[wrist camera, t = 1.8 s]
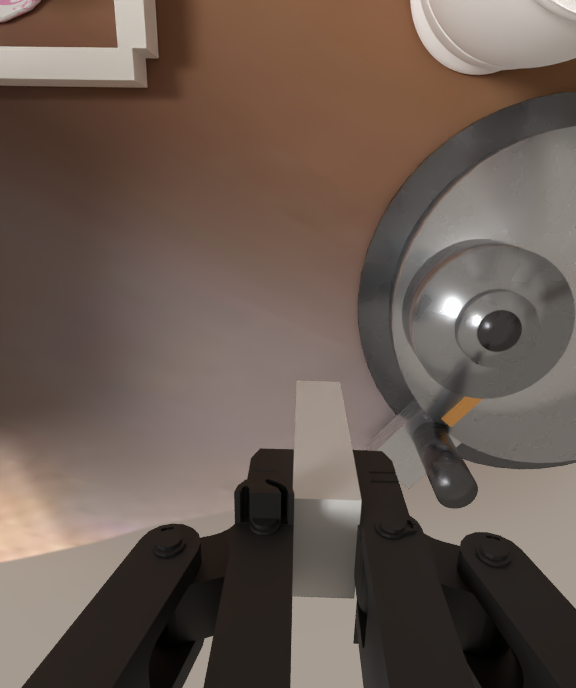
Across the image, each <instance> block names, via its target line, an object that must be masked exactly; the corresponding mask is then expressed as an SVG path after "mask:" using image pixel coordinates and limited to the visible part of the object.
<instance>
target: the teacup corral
mask: <svg viewBox="0 0 576 688" xmlns="http://www.w3.org/2000/svg"><path fill="white" fill-rule="evenodd" d="M114 7H115V19H116V31H117V44H118V48H89V47H11V46H0V86H58V87H128V88H148V86H147V72H146V58H159V54H158V37H157V21H156V4H155V0H114Z"/></svg>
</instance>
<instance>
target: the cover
mask: <svg viewBox="0 0 576 688" xmlns="http://www.w3.org/2000/svg"><path fill="white" fill-rule="evenodd" d="M574 323H575V304H574V298H573V295H572V291H571V288H570V286H569V284H568V282H567V280H566V279H565V277H564V276H563V274H562V273H561V272H560V271H559V269H558V268H557V267H556V266H555V265H554V264H552V263H551V262H550V261H548V260H547V259H546V258H544V257H542V256H540V255H539V254H537V253H534V252H531V251H529V250H526V249H523V248H520V247H517V246H514V245H511V244H508V243H505V242H501V241H497V240H492V239H471V240H466V241H462V242H458V243H455V244H452V245H450V246H448V247H446V248H444V249H442V250H441V251H439V252H437V253H436V254H434V255H433V256H432V257H431V258H429V259H428V260H427V261H426V262H425V263H424V264H423V265H422V266H421V267H420V268H419V270H418V271H417V272H416V273H415V275H414V277H413V278H412V280H411V282H410V283H409V286H408V288H407V290H406V293H405V296H404V300H403V306H402V324H403V329H404V333H405V336H406V339H407V341H408V343H409V345H410V346H411V348H412V350H413V351H414V353H415V354H416V356H417V358H418V359H419V361H420V362H421V364H422V365H423V367H424V369H425V370H426V371H427V373H428V374H429V375H430V376H431V377H432V378H433V379H434V380H435V381H436V382H437V383H438V384H440V385H441V386H443V387H444V388H445V389H447V390H449V391H451V392H453V393H456V394H459V395H462V396H466V397H470V398H479V399H491V398H499V397H504V396H508V395H512V394H514V393H517V392H519V391H522V390H524V389H526V388H528V387H530V386H531V385H533V384H534V383H536V382H537V381H539V380H540V379H542V378H543V377H544V376H545V375H546V374H547V373H549V371H550V370H551V369H552V368H553V367H554V366H555V365H556V364H557V362H558V361H559V360H560V358H561V357H562V355H563V354H564V352H565V350H566V349H567V346H568V344H569V342H570V339H571V336H572V333H573V329H574Z"/></svg>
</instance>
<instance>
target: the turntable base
mask: <svg viewBox="0 0 576 688" xmlns="http://www.w3.org/2000/svg"><path fill="white" fill-rule="evenodd" d="M573 126H576V92H563V93H557V94H552V95H547V96H542V97H537V98H533V99H530V100H527V101H524V102H521V103H518V104H515V105H512V106H509V107H506V108H503V109H501V110H499V111H496V112H494V113H492V114H490V115H488V116H486V117H484V118H482V119H480V120H478V121H476V122H474V123H473V124H471V125H469V126H468V127H466V128H465V129H463V130H462V131H460V132H459V133H457V134H456V135H454V136H453V137H451V138H450V139H448V140H447V141H446V142H445V143H444V144H442V145H441V146H440V147H439V148H438V149H436V150H435V151H434V152H433V153H432V154H430V155H429V156H428V157H427V158H426V159H425V160H424V161H423V162H422V163H421V164H420V166H419V167H418V168H417V169H416V170H415V171H414V172H413V173H412V174H411V175H410V176H409V177H408V178H407V180H406V181H405V182H404V184H403V185H402V187H401V188H400V189H399V191H398V192H397V193H396V195H395V196H394V197H393V199H392V200H391V202H390V204H389V205H388V207H387V209H386V211H385V212H384V214H383V216H382V218H381V220H380V221H379V223H378V225H377V228H376V230H375V232H374V235H373V237H372V240H371V242H370V245H369V247H368V250H367V254H366V257H365V261H364V265H363V269H362V272H361V279H360V286H359V294H358V324H359V331H360V338H361V345H362V348H363V352H364V355H365V358H366V362H367V365H368V368H369V370H370V372H371V375H372V377H373V379H374V381H375V384H376V386H377V388H378V389H379V391H380V393H381V394H382V396H383V397H384V399H385V400H386V402H387V404H388V405H389V406H390V407H391V409H392V410H393V411H394V412H395V413H396V414H397V415H398V414H399V413H400V412H401V411H402V410H403V409H404V408H405V407H406V406H407V405H408V404H409V403H410V402H411V401H412V400H414V399H415V397H414V395H413V394H412V392H411V391H410V389H409V387H408V385H407V383H406V381H405V379H404V377H403V375H402V373H401V370H400V368H399V366H398V363H397V361H396V358H395V355H394V351H393V347H392V343H391V338H390V330H389V297H390V290H391V284H392V279H393V275H394V272H395V268H396V265H397V261H398V258H399V256H400V254H401V251H402V249H403V247H404V244H405V242H406V240H407V238H408V236H409V234H410V233H411V231H412V229H413V227H414V226H415V224H416V222H417V221H418V219H419V217H420V216H421V215H422V214H423V212H424V211H425V210H426V208H427V207H428V206H429V204H430V203H431V202H432V200H433V199H434V198H435V197H436V196H437V195H438V194H439V193H440V192H441V191H442V190H443V189H444V188H445V187H446V186H447V185H448V184H449V182H450V181H452V180H453V179H454V178H455V177H457V176H458V175H459V174H460V173H461V172H463V171H464V170H465V169H466V168H468V167H469V166H470V165H472V164H473V163H475V162H476V161H478V160H479V159H481V158H483V157H484V156H486V155H487V154H489V153H491V152H492V151H494V150H496V149H499V148H501V147H503V146H505V145H507V144H509V143H511V142H513V141H516V140H519V139H522V138H525V137H528V136H531V135H534V134H537V133H541V132H546V131H552V130H557V129H562V128H567V127H573ZM456 448H457V450H458V452H459V454H460V455H461V457H462V459H465V460H468V461H471V462H474V463H478V464H483V465H488V466H493V467H500V468H511V469H541V468H549V467H556V466H563V465H568V464H572V463H576V460H572V461H564V462H555V463H531V462H519V461H513V460H508V459H503V458H498V457H495V456H492V455H489V454H486V453H483V452H480V451H478V450H476V449H474V448H472V447H470V446H467V445H465V444H463V443H461V444H460V445H459V446H457V447H456Z"/></svg>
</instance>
